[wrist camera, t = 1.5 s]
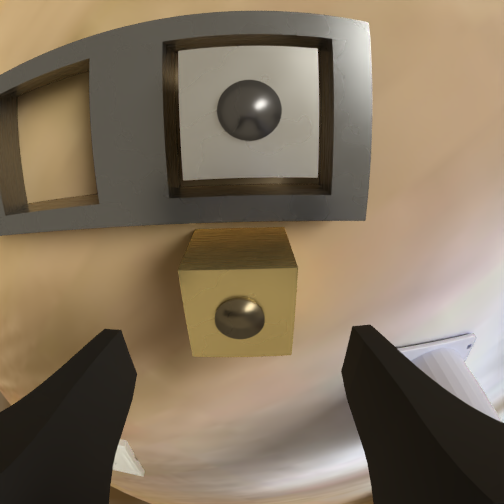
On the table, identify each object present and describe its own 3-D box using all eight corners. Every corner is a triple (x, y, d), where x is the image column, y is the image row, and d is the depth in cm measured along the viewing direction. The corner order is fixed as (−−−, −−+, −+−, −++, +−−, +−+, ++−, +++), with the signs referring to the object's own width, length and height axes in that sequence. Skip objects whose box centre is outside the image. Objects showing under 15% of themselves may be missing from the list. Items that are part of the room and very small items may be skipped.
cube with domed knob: (296, 160, 12) (318, 178, 8) (202, 162, 12) (182, 181, 8) (296, 70, 11) (318, 47, 7) (199, 72, 10) (177, 49, 7)
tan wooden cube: (281, 300, 15) (292, 357, 11) (203, 302, 15) (192, 359, 11) (283, 226, 13) (298, 270, 10) (195, 228, 13) (176, 272, 10)
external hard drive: (30, 406, 22) (128, 435, 22) (58, 443, 25) (145, 467, 26) (24, 416, 20) (124, 449, 21) (54, 452, 24) (143, 478, 24)
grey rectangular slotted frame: (349, 206, 13) (365, 220, 11) (14, 222, 13) (-7, 236, 11) (351, 34, 10) (368, 22, 8) (0, 88, 9) (-24, 89, 8)
